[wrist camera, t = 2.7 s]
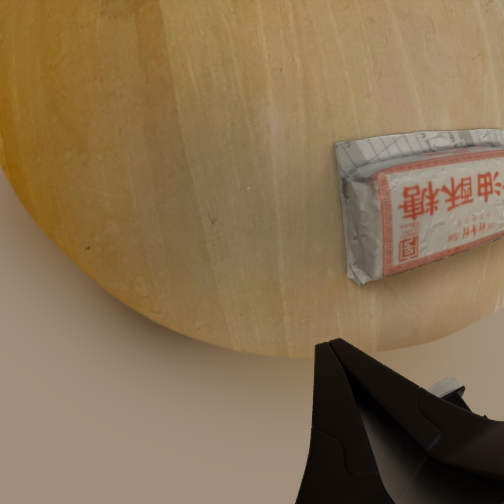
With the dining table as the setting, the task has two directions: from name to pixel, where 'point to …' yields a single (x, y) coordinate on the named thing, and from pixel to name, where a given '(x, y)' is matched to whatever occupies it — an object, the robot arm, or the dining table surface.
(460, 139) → the packaged product
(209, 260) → the dining table surface
